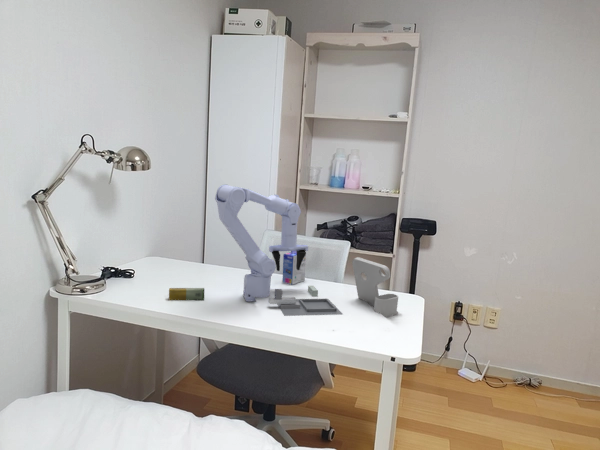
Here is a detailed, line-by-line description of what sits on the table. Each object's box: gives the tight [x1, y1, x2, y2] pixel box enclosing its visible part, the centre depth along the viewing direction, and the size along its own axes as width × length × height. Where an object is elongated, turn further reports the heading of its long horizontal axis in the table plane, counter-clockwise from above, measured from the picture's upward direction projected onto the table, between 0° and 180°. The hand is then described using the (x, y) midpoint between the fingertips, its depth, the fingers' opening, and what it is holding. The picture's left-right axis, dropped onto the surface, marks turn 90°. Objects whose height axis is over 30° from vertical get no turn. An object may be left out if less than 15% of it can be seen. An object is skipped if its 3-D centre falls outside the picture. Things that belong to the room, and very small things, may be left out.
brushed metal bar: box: [268, 288, 297, 305], centre depth 155 cm, size 9×2×4 cm, turn 105°
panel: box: [276, 298, 343, 317], centre depth 158 cm, size 20×16×3 cm
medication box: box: [168, 287, 205, 302], centre depth 160 cm, size 12×3×4 cm, turn 102°
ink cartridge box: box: [282, 251, 307, 286], centre depth 191 cm, size 10×6×14 cm, turn 148°
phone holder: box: [351, 256, 399, 318], centre depth 164 cm, size 17×10×18 cm, turn 39°
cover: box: [307, 285, 319, 297], centre depth 173 cm, size 8×8×4 cm
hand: (288, 269), depth 173 cm, fingers open, 7 cm apart
